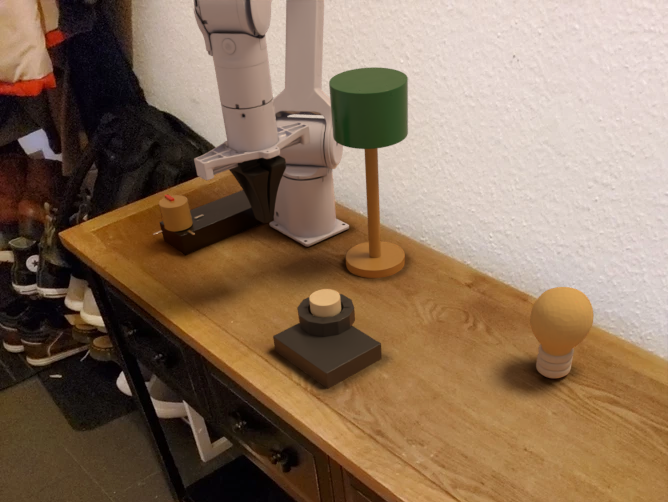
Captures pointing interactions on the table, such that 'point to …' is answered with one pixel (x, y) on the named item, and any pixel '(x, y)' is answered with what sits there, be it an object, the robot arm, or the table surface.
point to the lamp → (371, 150)
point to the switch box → (327, 344)
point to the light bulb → (560, 328)
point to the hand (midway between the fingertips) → (264, 219)
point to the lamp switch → (325, 303)
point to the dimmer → (213, 223)
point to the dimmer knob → (175, 212)
